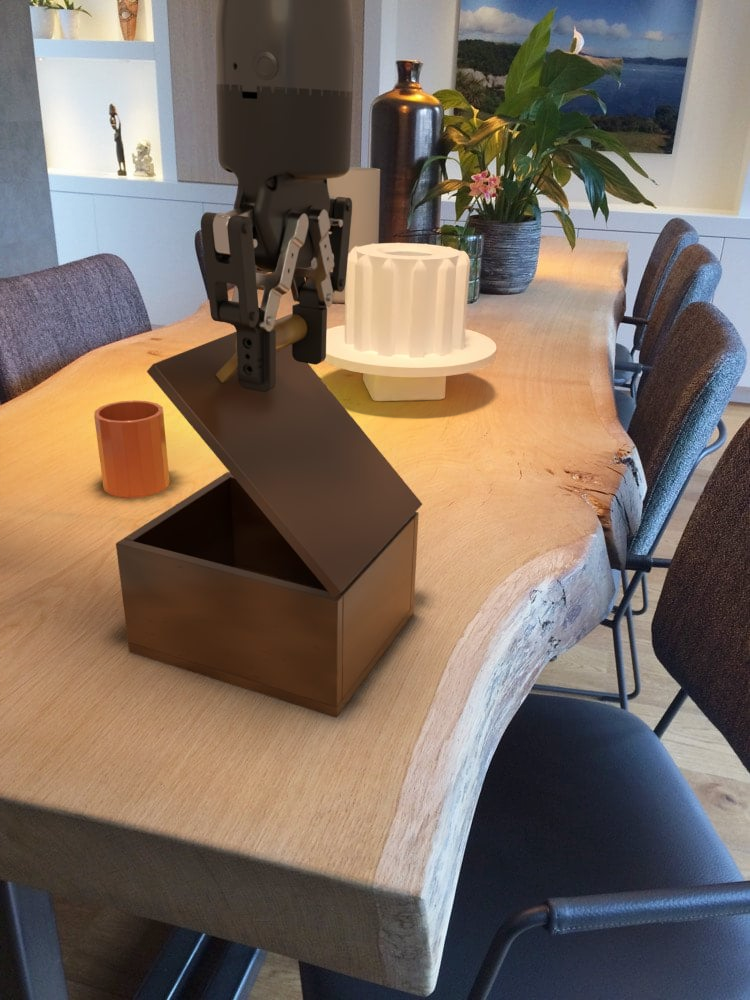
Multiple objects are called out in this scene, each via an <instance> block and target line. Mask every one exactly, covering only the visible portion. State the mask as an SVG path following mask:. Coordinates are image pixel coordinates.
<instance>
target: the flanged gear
mask: <svg viewBox="0 0 750 1000" xmlns="http://www.w3.org/2000/svg"><path fill="white" fill-rule="evenodd" d="M470 272H471V259H470V256H469V255H468V254H467V252H466V251H465V250H459V249H456V248H453V247H451V246H444V245H437V244H429V243H414V242H413V243H411V242H386V243H385V242H383V243H378V244H374V243H372V244H371V245H364V246H360V247H358V246H355V247H354V248H353V249H352V250H351V252H350V253H348V262H347V273H346V284H345V303H344V324H341V325H338V326H333V327H330V328H327V333H326V358H325V360H324V361H323V363H326V364H328V365H330V366H333V367H336V368H339V369H343V370H346V371H350V372H355V373H361V374H362V382H363V383H364V385H365V387H366V390H367V392H368V393H369V396H370V398H371V399H372V400H373V401H374V402H404V401H406V402H408V401H412V402H413V401H441V400H444V399H445V398H446V385H447V377H449V376H456V375H463V374H468V373H472V372H475V371H480V370H482V369H484V368H486V367H488V366H490V365H491V364H493V363H494V361H495V360H496V357H497V344H496V343H495V341H494V340H493V339H491V338H490V337H488V336H487V335H484V334H482V333H480V332H478V331H475V330H471V329H467V315H468V314H467V313H468V299H469V287H470V274H471V273H470Z"/></svg>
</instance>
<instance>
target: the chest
mask: <svg viewBox="0 0 750 1000" xmlns="http://www.w3.org/2000/svg"><path fill="white" fill-rule="evenodd" d="M419 517H420V516H419V512H418V511H416V512H415V513H414V514H413V515H412V516H411V517H410V518H409V519H408V521H407V522H406V523H405V524H404V525H403V526H402V527H401V528H400V529H399V530H398V531H397V532H396V534H395V535H394V536H393V537H392V538H391V539H390V540H389V541H388V542H387V543H386V544H385V545H384V547H383V548H382V549H381V550H380V551H379V552H378V553H377V554H376V555H375V556H374V557H373V558H372V560H371V561H370V562H369V563H368V564H367V565H366V566H365V567H364V568H363V569H362V570H361V571H360V573H359V574H358V575H357V576H356V577H355V578H354V579H353V580H352V581H351V582H350V583H349V584H348V585H347V587H346V588H345V589H344V590H343V591H342V592H341V593H339V594H338V595H336V596H335V597H332V595H331V594H330V593H329V592H328V590H327V589H326V588H325V587H324V586H323V584H322V583H321V582H320V581H319V580H318V578H317V577H316V576H315V575H314V574H313V572H312V571H311V570H310V569H309V567H308V566H307V565H306V564H305V563H304V561H303V560H302V559H301V558H300V557H299V555H298V554H297V553H296V552H295V551H294V549H293V548H292V547H291V546H290V544H289V543H288V542H287V541H286V540H285V538H284V537H283V536H282V535H281V534H280V532H279V531H278V530H277V529H276V528H275V526H274V525H273V524H272V523H271V521H270V520H269V519H268V518H267V517H266V515H265V514H264V513H263V512H262V511H261V509H260V508H259V507H258V506H257V505H256V503H255V502H254V501H253V500H252V499H251V497H250V496H249V495H248V494H247V492H246V491H245V490H244V489H243V488H242V486H241V485H240V484H239V483H238V482H237V480H236V479H235V478H234V477H233V476H232V474H231V473H230V472H229V471H226V472H225V473H223V474H222V475H220V476H218V477H217V478H215V479H213V480H212V481H211V482H209V483H207V484H206V485H205V486H203V487H201V488H200V489H198V490H196V491H195V492H193V493H192V494H191V495H189V496H187V497H186V498H184V499H183V500H181V501H179V502H178V503H176V504H174V505H173V506H172V507H170V508H168V509H167V510H164V512H162V513H160V514H159V515H157V516H156V517H154V518H153V519H152V520H149V521H148V522H147V523H145V524H144V525H142V526H141V527H139V528H137V529H136V530H134V531H132V532H131V533H130V534H128V535H126V536H125V537H123V538H122V539H120V540H119V541H117V542H116V543H115V548H116V556H117V565H118V575H119V579H120V580H119V581H120V588H121V598H122V607H123V614H124V623H125V630H126V637H127V646H128V651H129V652H131V653H133V654H137V655H139V656H143V657H146V658H149V659H152V660H155V661H159V662H161V663H165V664H167V665H171V666H174V667H177V668H181V669H183V670H187V671H190V672H193V673H196V674H199V675H202V676H205V677H209V678H211V679H215V680H218V681H220V682H221V681H222V682H225V683H227V684H231V685H234V686H237V687H241V688H244V689H247V690H250V691H252V692H256V693H258V694H262V695H266V696H269V697H271V698H275V699H279V700H281V701H284V702H287V703H289V704H293V705H297V706H300V707H302V708H307V709H309V710H312V711H315V712H319V713H322V714H325V715H328V716H331V717H334V718H337V717H338V716H339V714H340V713H342V711H343V710H344V708H345V707H346V706H347V704H348V702H349V701H350V700H351V698H352V697H353V696H354V694H355V693H356V692H357V690H358V689H359V688H360V686H361V685H362V684H363V683H364V681H365V679H366V678H367V677H368V676H369V674H370V673H371V672H372V670H373V669H374V667H375V666H376V664H377V663H378V662H379V661H380V660H381V658H382V656H383V655H384V654H385V652H386V651H387V650H388V648H389V647H390V646H391V644H392V643H393V642H394V641H395V639H396V638H397V636H398V635H399V634H400V632H401V631H402V629H403V628H404V627H405V626H406V624H407V623H408V621H409V620H410V619H411V617H412V616H413V615H414V610H415V594H416V593H415V591H416V574H417V573H416V571H417V554H418V536H419V535H418V534H419V533H418V531H419Z"/></svg>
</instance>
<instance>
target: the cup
mask: <svg viewBox="0 0 750 1000" xmlns="http://www.w3.org/2000/svg"><path fill="white" fill-rule="evenodd" d="M93 414H94V415H93V417H94V425H95V432H96V439H97V440H96V441H97V448H98V457H99V464H100V465H99V466H100V471H101V479H102V488H103V491H104V492H106V493H107V494H108V495H111V496H113V497H117V498H127V499H133V498H134V499H135V498H144V497H149V496H152V495H156V494H158V493H160V492H162V491H164V490H166V489H167V487H168V486H169V485H170V484H171V483H170V482H171V481H170V472H169V470H170V469H169V460H168V448H167V437H166V425H165V416H164V415H165V414H164V408H163V406H162V405H160V404H159V403H157V402H153V401H149V400H135V399H134V400H122V401H121V400H120V401H115V402H111V403H107V404H105V405H102V406H99V407H98V408H96V409H95V410H94V412H93Z"/></svg>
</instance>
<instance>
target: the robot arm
mask: <svg viewBox="0 0 750 1000" xmlns="http://www.w3.org/2000/svg"><path fill="white" fill-rule="evenodd" d="M214 20H215V23H214V54H215V55H214V56H215V57H214V58H215V89H216V90H215V92H216V121H217V122H216V124H217V125H216V128H217V157H218V158H217V160H218V164H219V165H220V167H221V168H222V169H223V170H224V171H226V172H228V173H232V174H234V176H235V177H236V178H237V187H236V195H235V199H234V203H233V209H232V210H230V211H227V212H218V213H217V212H211V211H206V212H204V213H203V214H202V216H201V219H200V232H201V241H202V242H201V243H202V251H203V259H204V267H205V278H206V283H207V284H206V285H207V292H208V301H209V311H210V317H211V319H212V320H213V321H214V322H220V323H226V324H229V325H231V326H233V327H234V328H235V332H237V357H238V358H237V363H238V379H239V383H240V385H241V386H242V387H243V388H245V389H250V390H255V391H260V392H267V391H269V390H271V389H272V388H274V387H275V385H276V330H272V329H273V327H274V324H275V320H277V315H278V310H279V306H280V302H281V298H282V296H283V295H286V294H287V293H289V292H290V291H291V292H290V293H291V296H292V299H293V300H292V301H294V302H295V303H296V304H293V305H292V311H291V312H292V313H291V314H298V315H300V316H301V317H302V318H303V319H304V320H305V322H306V324H307V333H306V336H305V337H304V338H303V339H302V340H300V341H298V342H295V343H293V344H292V356H293V358H294V359H295V360H296V361H298V362H303V363H308V364H309V365H315V366H317V365H319V364H321V363H324V360H325V358H326V333H327V329H328V327H327V326H328V324H327V323H328V308H330V307H331V306H332V304H333V303H334V302H333V297H334V294H333V293H334V292H335V291H337V292H342V291H343V290H344V288H345V284H346V273H347V262H348V250H349V239H350V228H351V217H352V200H351V199H350V198H347V197H337V196H329V192H328V186H327V179H328V178H338V177H341V176H344V175H345V174H346V173H347V172H348V171H349V168H350V167H351V152H352V151H351V148H352V121H353V119H352V118H353V97H354V95H353V93H354V92H353V90H354V89H353V87H354V65H355V62H354V61H355V29H354V18H353V2H352V0H217V1H216V11H215V19H214ZM328 232H332V233H331V234H329V233H328ZM332 253H333V255H334V260H333V255H332ZM332 269H333V272H331V271H332ZM258 271H259V272H258ZM228 284H230V285H234V288H233V293H232V297H231V300H229V292H228V291H229V290H228ZM258 291H263V295H262V299H261V304H260V307H259V295H258V294H259V293H258Z"/></svg>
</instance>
